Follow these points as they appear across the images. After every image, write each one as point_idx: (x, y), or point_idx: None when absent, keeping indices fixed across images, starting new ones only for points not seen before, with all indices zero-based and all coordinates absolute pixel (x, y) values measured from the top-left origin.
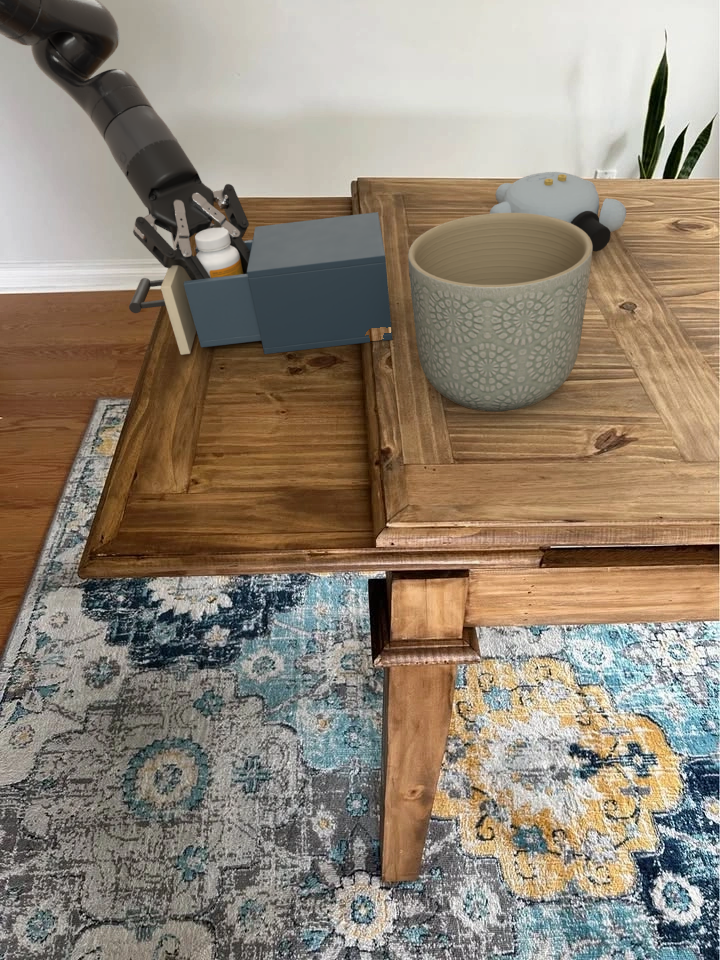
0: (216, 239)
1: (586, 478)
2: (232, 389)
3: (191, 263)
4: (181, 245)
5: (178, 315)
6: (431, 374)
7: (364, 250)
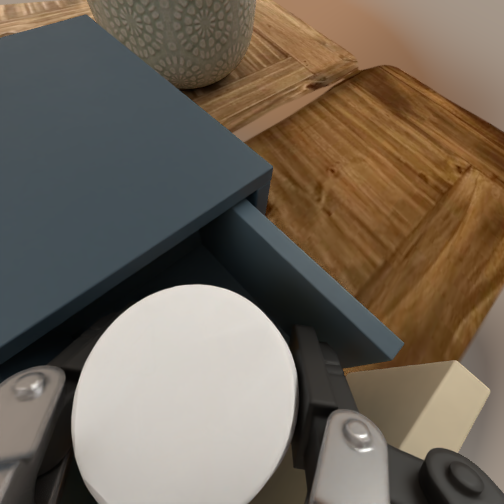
0: (233, 293)
1: (255, 14)
2: (345, 246)
3: (337, 401)
4: (380, 487)
5: (395, 367)
6: (248, 37)
7: (69, 40)
